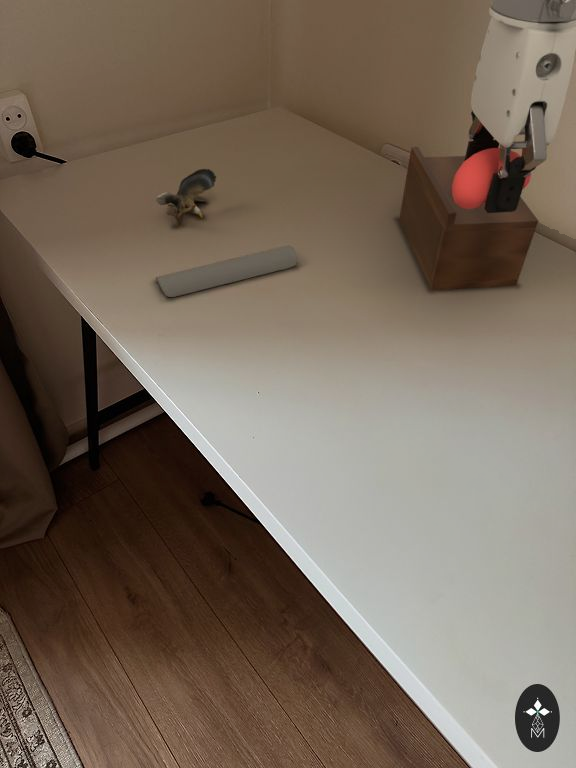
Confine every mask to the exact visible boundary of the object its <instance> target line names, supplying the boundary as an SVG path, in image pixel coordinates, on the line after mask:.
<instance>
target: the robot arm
mask: <svg viewBox="0 0 576 768" xmlns="http://www.w3.org/2000/svg"><path fill="white" fill-rule="evenodd" d="M488 15H489V16H490V20H489V23H488V26H487V30H486V33H485V36H484V40H483V43H482V48H481V51H480V55H479V58H478V61H477V67H476V70H475V75H474V79H473V84H472V89H471V95H470V96H471V97H470V107H471V111H470V115H471V118H472V119H471V120H472V123H471V125H470V127H469V130H468V139H469V140H468V142H467V147H466V152H465V155H464V156H465V160H464V162H465V161H466V160H467V159H468V158H470V157H471V156H472V155H474V154H476V153H478V152H480V151H482V150H486V149H490V148H500V155H499V167H498V173H493V177H492V181H491V184H490V188H489V192H488V196H487V200H486V203H485V207H484V209H485V210H486V212H487V213H500V212H513V211H515V210H516V209H517V206H518V203H519V199H520V197H521V196H522V193H523V190H524V189H523V186H524V183H525V180H526V177H529V176H530V174H531V175H532V172H533V171H535V169H536V168H537V167H538V166H540V165H541V164H543V163H544V162H545V161H547V158H548V149H547V148H548V147H547V146H550V145H551V144H552V143H553V141H554V139H555V136H556V133H557V130H558V127H559V124H560V121H561V116H562V112H563V109H564V105H565V101H566V97H567V94H568V91H569V86H570V82H571V78H572V72H573V68H574V63H575V57H576V0H490V5H489V9H488ZM515 136H516V137H517V136H524V140H517V141H515V140H514V139H515ZM519 149H521V155H520V156H521V157H516V158H515V159H514V160H512V161H511V162H510V154H511V150H519Z"/></svg>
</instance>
